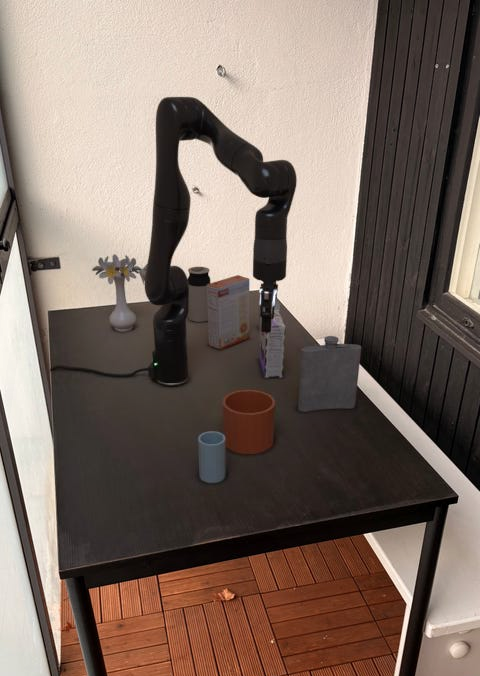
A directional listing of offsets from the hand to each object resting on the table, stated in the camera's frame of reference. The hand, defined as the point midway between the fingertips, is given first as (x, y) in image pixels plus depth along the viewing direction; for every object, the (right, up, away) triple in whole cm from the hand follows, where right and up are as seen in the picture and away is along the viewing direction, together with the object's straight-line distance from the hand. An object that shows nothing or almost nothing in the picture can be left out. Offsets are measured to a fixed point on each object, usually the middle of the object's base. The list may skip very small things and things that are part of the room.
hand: (267, 325), depth 152 cm
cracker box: (-10, +4, +63) cm, 63 cm away
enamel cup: (-13, -35, -5) cm, 38 cm away
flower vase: (-46, +10, +73) cm, 87 cm away
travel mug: (-21, +15, +81) cm, 85 cm away
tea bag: (+4, +10, +74) cm, 75 cm away
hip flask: (+17, -19, +24) cm, 35 cm away
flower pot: (-4, -27, +8) cm, 29 cm away
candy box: (+3, -6, +45) cm, 46 cm away
